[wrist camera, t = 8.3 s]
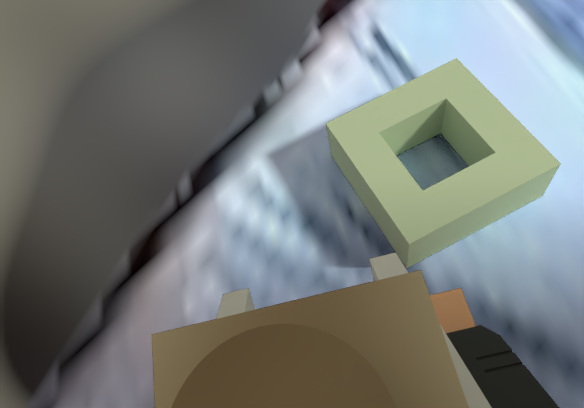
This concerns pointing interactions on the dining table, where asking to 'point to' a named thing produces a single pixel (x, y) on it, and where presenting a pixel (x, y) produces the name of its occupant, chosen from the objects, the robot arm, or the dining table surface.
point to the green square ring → (455, 189)
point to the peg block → (314, 354)
